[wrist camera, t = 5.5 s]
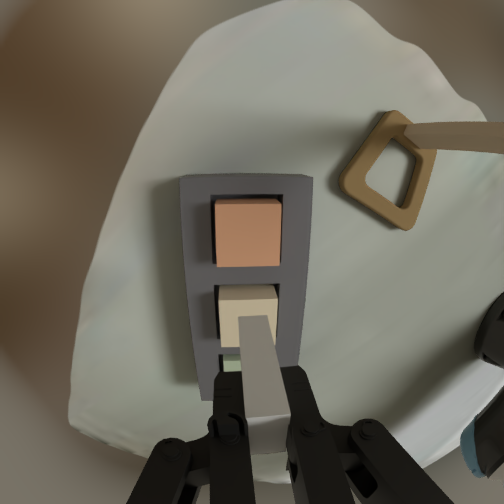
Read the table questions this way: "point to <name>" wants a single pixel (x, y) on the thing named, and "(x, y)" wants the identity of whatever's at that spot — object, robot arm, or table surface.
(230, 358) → the sage key
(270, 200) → the terracotta key
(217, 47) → the table surface
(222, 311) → the sand key
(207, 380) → the keypad
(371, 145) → the headphone stand
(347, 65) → the table surface
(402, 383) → the table surface
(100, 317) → the table surface
